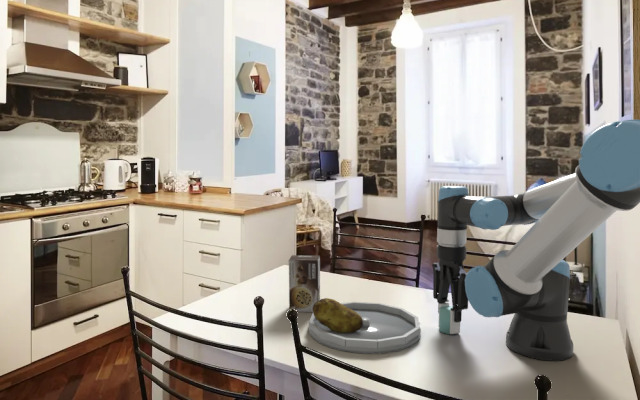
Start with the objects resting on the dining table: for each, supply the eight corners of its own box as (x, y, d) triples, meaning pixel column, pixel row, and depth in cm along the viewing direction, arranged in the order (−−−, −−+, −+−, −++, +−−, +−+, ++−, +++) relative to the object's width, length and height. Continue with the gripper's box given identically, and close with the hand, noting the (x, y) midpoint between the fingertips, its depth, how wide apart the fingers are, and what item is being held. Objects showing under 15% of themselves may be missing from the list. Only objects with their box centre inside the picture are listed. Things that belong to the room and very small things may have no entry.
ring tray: (444, 342, 119) (444, 331, 119) (336, 361, 108) (336, 349, 108) (384, 306, 147) (384, 297, 146) (293, 318, 135) (293, 308, 135)
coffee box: (320, 306, 147) (321, 255, 145) (318, 313, 141) (318, 260, 139) (291, 304, 148) (291, 254, 146) (288, 311, 141) (288, 259, 140)
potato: (350, 340, 117) (350, 309, 116) (307, 329, 124) (308, 300, 123) (365, 330, 124) (366, 300, 123) (324, 320, 131) (325, 292, 130)
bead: (462, 332, 126) (462, 310, 125) (446, 334, 124) (447, 312, 123) (450, 326, 130) (450, 305, 130) (435, 328, 128) (435, 307, 128)
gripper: (485, 249, 118) (482, 339, 120) (443, 238, 134) (440, 317, 136) (461, 251, 115) (458, 343, 117) (420, 239, 131) (419, 321, 133)
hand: (449, 329), depth 127 cm, fingers closed on bead, 4 cm apart
